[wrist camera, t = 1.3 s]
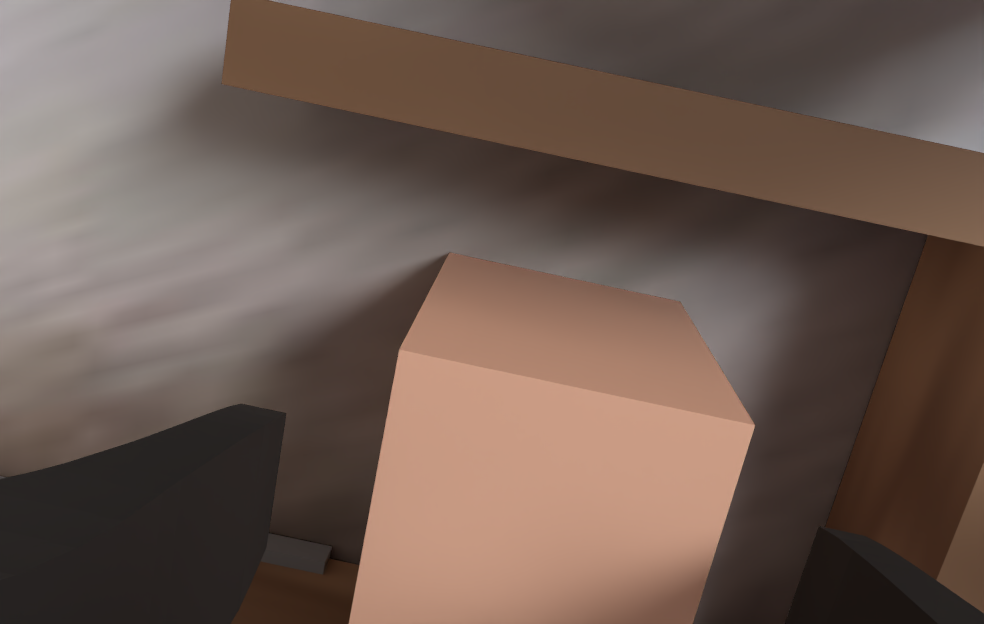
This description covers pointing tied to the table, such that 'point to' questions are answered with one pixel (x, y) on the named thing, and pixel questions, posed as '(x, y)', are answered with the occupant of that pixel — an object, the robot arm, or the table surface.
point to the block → (548, 457)
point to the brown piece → (708, 163)
